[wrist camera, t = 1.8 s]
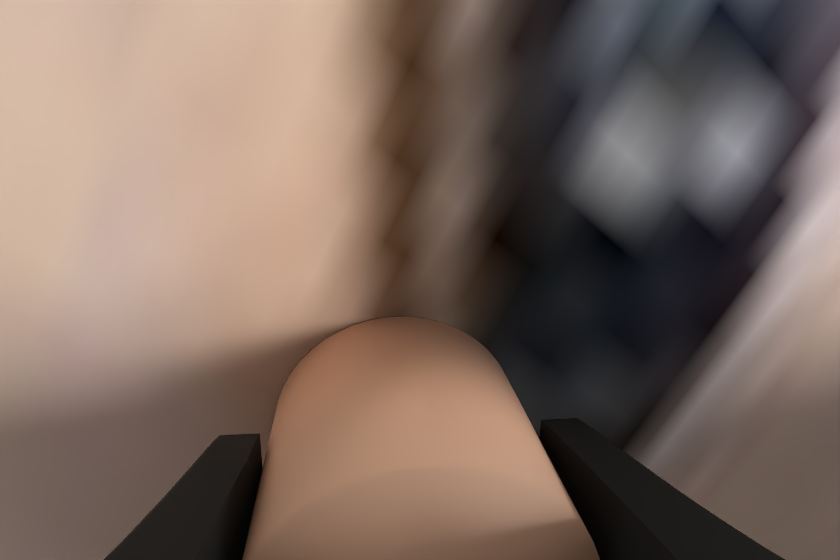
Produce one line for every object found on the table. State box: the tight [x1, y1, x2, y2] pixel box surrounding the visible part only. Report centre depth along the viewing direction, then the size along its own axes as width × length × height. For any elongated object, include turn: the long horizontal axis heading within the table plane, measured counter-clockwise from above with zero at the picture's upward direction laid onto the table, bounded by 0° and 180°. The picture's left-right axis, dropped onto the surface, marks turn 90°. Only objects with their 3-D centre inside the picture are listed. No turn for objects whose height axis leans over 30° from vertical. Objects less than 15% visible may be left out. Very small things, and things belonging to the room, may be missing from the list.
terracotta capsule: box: [242, 316, 600, 560], centre depth 9 cm, size 4×4×4 cm
